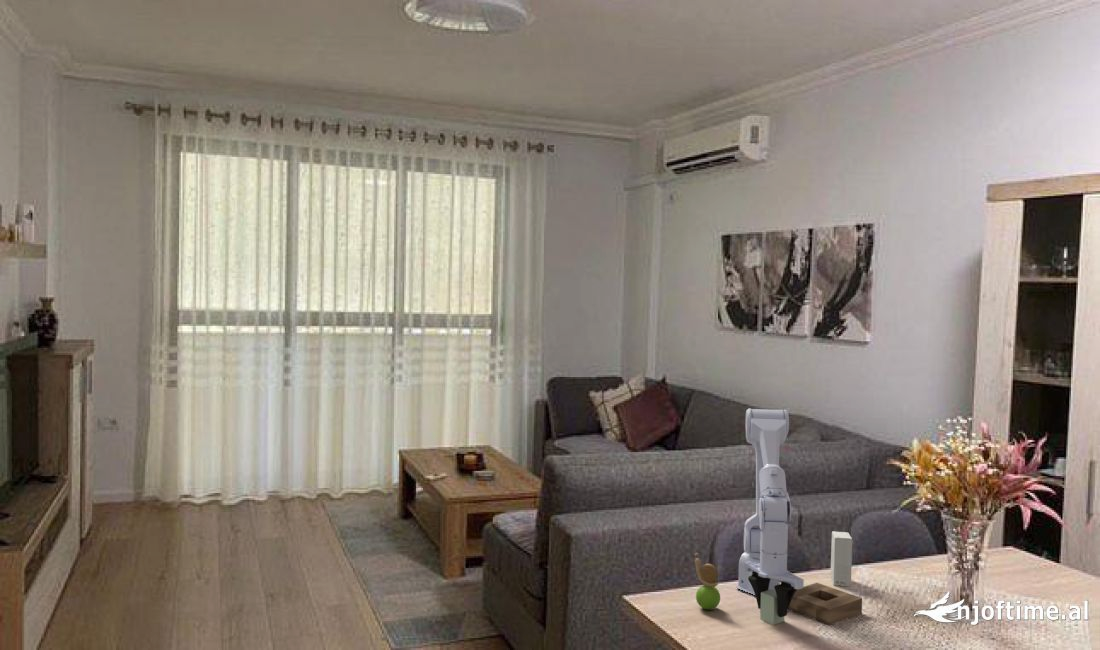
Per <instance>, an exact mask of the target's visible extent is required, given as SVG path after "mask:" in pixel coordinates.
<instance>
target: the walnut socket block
mask: <svg viewBox="0 0 1100 650" xmlns="http://www.w3.org/2000/svg"><path fill="white" fill-rule="evenodd" d="M788 611H791V612H794V613H797V614H799V615H802V616H803V617H806V618H809V619H812V620H815V621H817V622H819V623H823V624H825V625H827V626H832V625H835V624H837V623H839V622H843V621H845V620H848V619H850V618H854V617H856V616H859V615H861V614H863V597H860V596H858V595H854V594H851V593H848V592H846V591H843V590H840V589H837V588H834V587H831V586H828V585H825V584H822V583H819V582H815V583H811V584H808V585H804V586H803V588H802V589H798V590H797V591H796V592H795V594H794V596H793V597H792V600H791V602H790V605H789V608H788Z"/></svg>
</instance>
